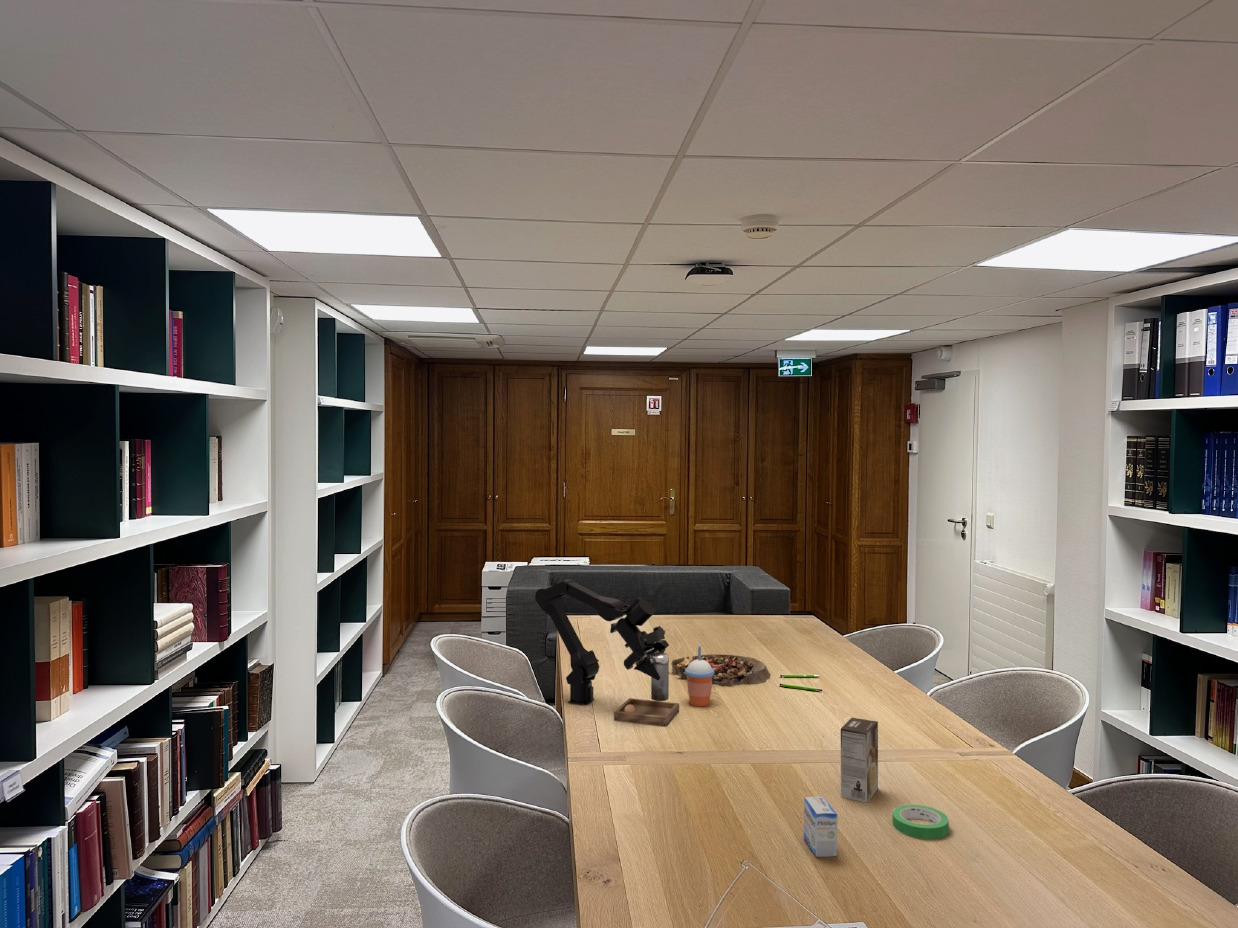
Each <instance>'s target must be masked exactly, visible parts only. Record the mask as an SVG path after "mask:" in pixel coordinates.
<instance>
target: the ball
mask: <svg viewBox="0 0 1238 928" xmlns="http://www.w3.org/2000/svg"><path fill="white" fill-rule="evenodd" d="M625 712H629V713H635V707H634V706H633V705H627V706H626V707H625Z"/></svg>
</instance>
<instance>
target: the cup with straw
mask: <svg viewBox="0 0 1238 928" xmlns="http://www.w3.org/2000/svg"><path fill="white" fill-rule="evenodd" d="M701 655H702V647H701V645H699V646H697V656H698V660H694V661H692V662H691V663H690V664H689V665H688V668H686V670H685V674H686V675H687V678H688V679H687V680H686V682H687V693H688V697H689V704H690V705H692V706H693V707H707V706H709V705H710V702H711V694H712V688H713V686H712V676H713V675H714V670H713V669H712V668H711V665H710V664H709V663H708V662H707V661H705V660H701Z"/></svg>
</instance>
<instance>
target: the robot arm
mask: <svg viewBox="0 0 1238 928" xmlns="http://www.w3.org/2000/svg"><path fill="white" fill-rule="evenodd" d="M566 595H567V596H569V597H571V598H572V599H575V600H576V601H578V602H579V603H582V604H584V605H586V606H588V607H590V608H591V609H593V610H594V611H595V613H596V614H597V615H598V616H599V617H600V618H602V619H603V620H604V621H606V622H612V621H616V620H617V621H616V622H613V623H611V624H610V630H609V633H610V634H614V633H616V632H617V633H618V634H619V635H620V637H621V638H622V639H623V641H624V642H625V644H624V647H625V648H629V649H630V651H632V652H631V653H630V654H629V655H628V656H627V657H626V658H625V659H624V660H623V666H624V668H625V669H626V670H627V671H629V670H631V669H634V670H635V671H636V670H637V671H638V672H641V673H642V674H645V675H647V676H649V677H650V678H651V677H652V678H654V679H656V680H659V679H660V676H659V674H658V672H657V671H656V669H655V668H654V666H653V665H652V663H651V654H653V653H665V651H666V649H667V648H668V647H670V644H669V642H668V641H667V640H666V636H665V634H666V630H664V628H662V627H661V625H658V626H656V627H653V631H651V632H649V633H647V632H646V630H641V629H640V628H639V627H642V626H643V625H644V624H645V623H646V622H647V621H648V620H649V619H650V618H651V617H652V616H653V615H654V614H655V609H654V607H653V605H652V604H651V603H650V602H648V601H646V600H644V599H643V598H641V597H637V598H636V599H635V600H634V601H633V603H632V604H631V605H629V604H626V603H624V601H622V600H620V599H617V598H613V597H609V596H607V597H606V596H603V595H600V594H599V593H596V592H594V591H592V590H591V589H589V588H588V587H587V588H586V587H585V586H583V585H581V584H579V583H576V581H574V580H573V579H570V578H569V579H565V580H561V581H560V582H559V583H556V584H554V585H550V586H546V587H541V588H538V589H537V590H536V592H535V596H534V600H535V602H536V604H537V606H538V607H539V608H540V609H541V611H542V612H543V613H545V614H546V615H548V616H549V617H550V619H551V622H552V623H553V625H554V627H555V629H556V631H557V633H558V634H559V637H560V638H561V640H562V642H563V644H564V646H565V647H566V650H567V652H568V654H569V657H570V658H569V659H570V668H571V672H570V673H569V674H568V675H567V676H566V677H565V680H566V682H567V684H568V685H569V694H570V695H569V697H570V698H569V699H568V702H567V703H568V704H575V705H583V706H584V705H585V706H586V705H589V704H590V703H591V702H593V700H595V697H594V686H593V681H594V680H595V679H596V675H597V674H599V672H600V671H599V670H600V664H599V662H600V660H599V659H598V658H597V656H596V654H595V651H594V650H589V651H588V650H587V649H586V648H585V647H584V646H583V643H582V642H581V640H580V638H579V636H578V634H577V632H576V629H574V626H573V625H572V623H571V621H570V619H569V617H568V615H567V613H566V612H565V610H564V598H563V596H566ZM624 616H625V617H624ZM634 665H635V666H634ZM633 667H634V668H633ZM669 675H670V672H669Z"/></svg>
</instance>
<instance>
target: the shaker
mask: <svg viewBox="0 0 1238 928" xmlns="http://www.w3.org/2000/svg"><path fill="white" fill-rule="evenodd" d="M651 663H652V665H653V666H654V668H655V669H656V671H657V672H658V674H659V676H660V679H659V680H656V679H654V678H652V677H651V676H650V679H651V680H650V684H651V685H650V698H651V699H650V700H652V701H661V702H667V701H668V700H669V695H670V693H669V691H670V690H669V688H670V687H669V685H670V683H669V680H670V677H669V675H670V674H669V673H670V670H669V669H670V668H669V666H670V654H668V653H666V652H664V653H653V654H651Z"/></svg>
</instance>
